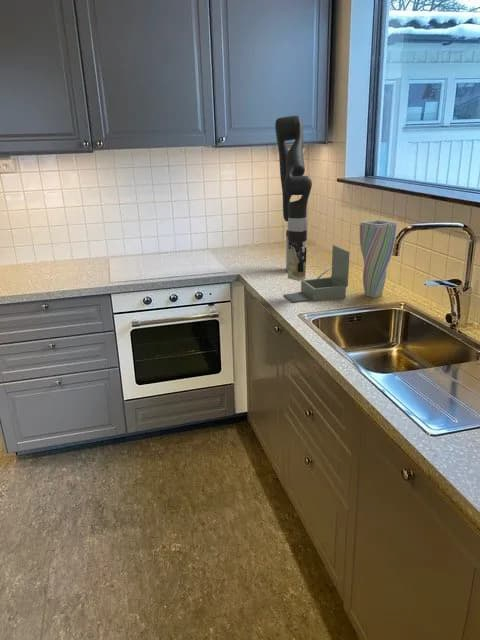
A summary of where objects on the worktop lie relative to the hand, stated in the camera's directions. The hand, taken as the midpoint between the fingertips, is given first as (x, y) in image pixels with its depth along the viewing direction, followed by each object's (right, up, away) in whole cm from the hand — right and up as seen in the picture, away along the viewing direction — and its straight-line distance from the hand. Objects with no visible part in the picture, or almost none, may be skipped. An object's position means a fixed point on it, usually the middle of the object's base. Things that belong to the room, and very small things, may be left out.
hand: (296, 269), depth 199 cm
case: (+12, -10, +8) cm, 17 cm away
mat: (0, -11, +4) cm, 12 cm away
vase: (+32, -10, +5) cm, 34 cm away
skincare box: (0, -4, +1) cm, 4 cm away
